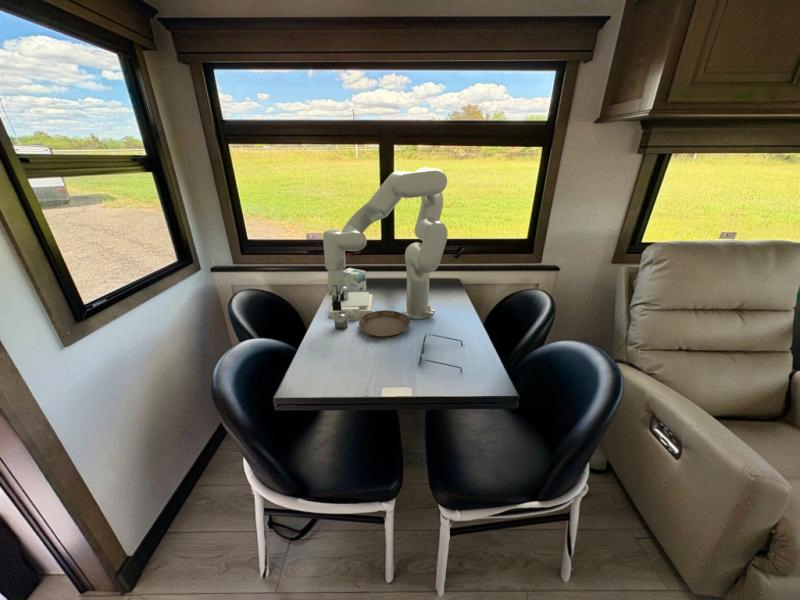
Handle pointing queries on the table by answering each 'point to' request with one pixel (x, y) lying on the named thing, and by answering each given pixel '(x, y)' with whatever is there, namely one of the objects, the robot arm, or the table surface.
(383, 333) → the plant saucer
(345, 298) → the ball
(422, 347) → the sunglasses
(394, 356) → the table surface
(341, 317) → the cylinder
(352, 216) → the robot arm
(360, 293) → the scale
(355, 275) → the light bulb box
